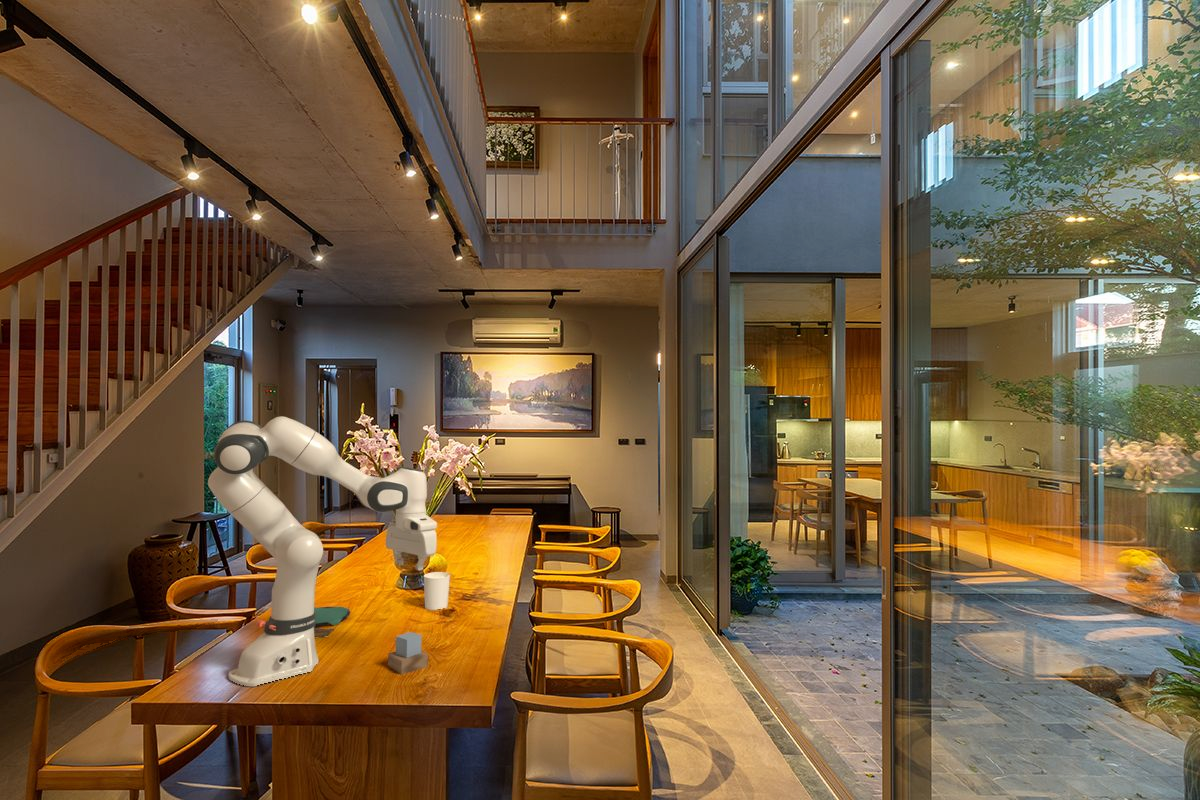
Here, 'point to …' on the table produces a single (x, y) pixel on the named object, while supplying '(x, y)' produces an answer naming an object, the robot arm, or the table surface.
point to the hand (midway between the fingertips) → (409, 567)
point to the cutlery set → (329, 617)
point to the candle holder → (436, 590)
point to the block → (408, 644)
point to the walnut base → (407, 662)
